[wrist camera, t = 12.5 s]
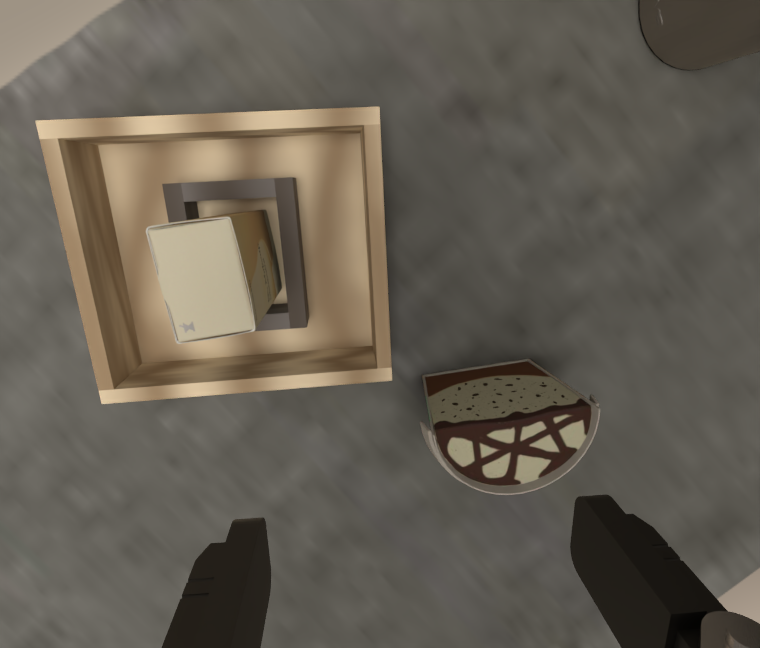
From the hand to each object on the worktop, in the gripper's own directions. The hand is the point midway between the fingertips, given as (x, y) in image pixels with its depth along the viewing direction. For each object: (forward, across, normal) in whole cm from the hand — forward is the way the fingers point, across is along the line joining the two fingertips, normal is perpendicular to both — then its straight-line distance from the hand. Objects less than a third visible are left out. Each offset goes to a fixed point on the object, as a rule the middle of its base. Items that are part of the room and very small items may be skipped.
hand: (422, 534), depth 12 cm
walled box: (+27, +9, -4) cm, 29 cm away
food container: (+28, -9, +10) cm, 31 cm away
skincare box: (+27, +9, -4) cm, 28 cm away
